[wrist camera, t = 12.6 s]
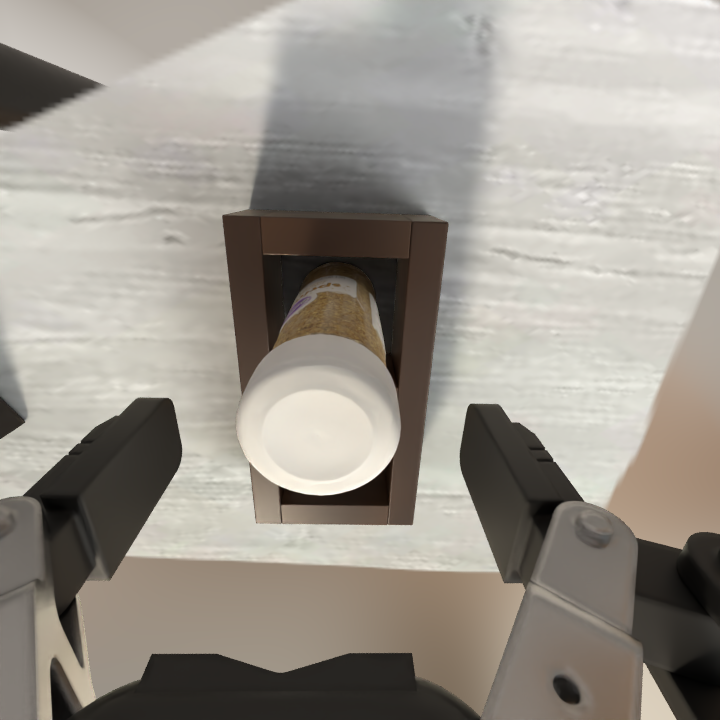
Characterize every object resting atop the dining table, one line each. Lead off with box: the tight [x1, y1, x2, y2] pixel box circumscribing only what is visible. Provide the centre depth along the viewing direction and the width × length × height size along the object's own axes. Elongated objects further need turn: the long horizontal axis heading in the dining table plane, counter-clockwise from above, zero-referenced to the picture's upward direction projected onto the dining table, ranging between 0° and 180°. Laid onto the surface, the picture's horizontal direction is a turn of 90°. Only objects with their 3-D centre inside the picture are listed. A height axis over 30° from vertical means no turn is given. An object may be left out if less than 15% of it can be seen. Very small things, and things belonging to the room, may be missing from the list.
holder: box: [222, 209, 448, 525], centre depth 22 cm, size 10×18×4 cm, turn 178°
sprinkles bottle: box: [236, 262, 401, 495], centre depth 16 cm, size 5×5×13 cm
